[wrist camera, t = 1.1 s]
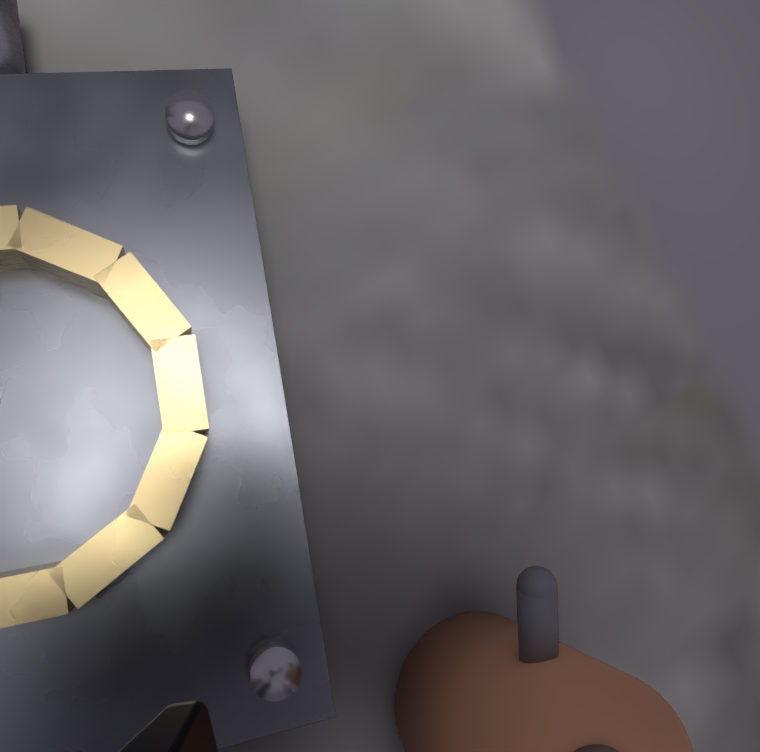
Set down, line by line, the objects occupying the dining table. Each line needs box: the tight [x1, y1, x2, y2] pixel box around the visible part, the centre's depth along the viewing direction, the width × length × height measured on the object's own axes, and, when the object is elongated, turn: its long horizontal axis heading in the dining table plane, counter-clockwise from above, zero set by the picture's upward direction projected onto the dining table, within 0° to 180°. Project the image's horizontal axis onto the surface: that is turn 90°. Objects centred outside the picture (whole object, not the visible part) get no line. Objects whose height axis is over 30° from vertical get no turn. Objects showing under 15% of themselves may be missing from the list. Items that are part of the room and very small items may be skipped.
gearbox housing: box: [0, 0, 336, 752], centre depth 17 cm, size 20×13×4 cm, turn 10°
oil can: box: [395, 566, 693, 752], centre depth 17 cm, size 7×5×7 cm
